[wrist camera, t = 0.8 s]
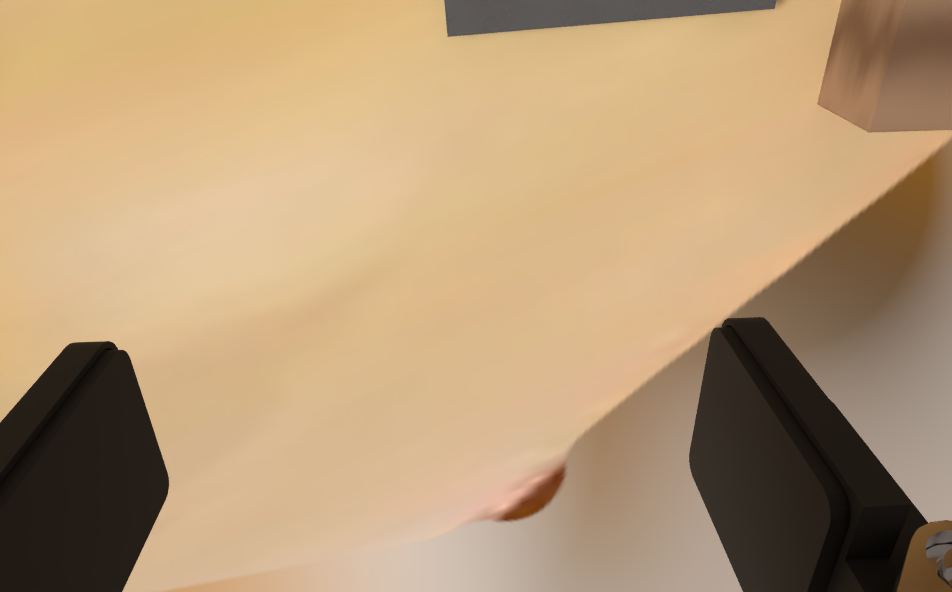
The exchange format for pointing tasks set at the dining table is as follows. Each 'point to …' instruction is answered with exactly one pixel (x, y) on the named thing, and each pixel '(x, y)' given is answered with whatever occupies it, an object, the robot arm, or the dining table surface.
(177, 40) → the dining table surface
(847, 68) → the brown wooden block
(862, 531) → the robot arm
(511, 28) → the ridge stand
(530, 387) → the dining table surface
